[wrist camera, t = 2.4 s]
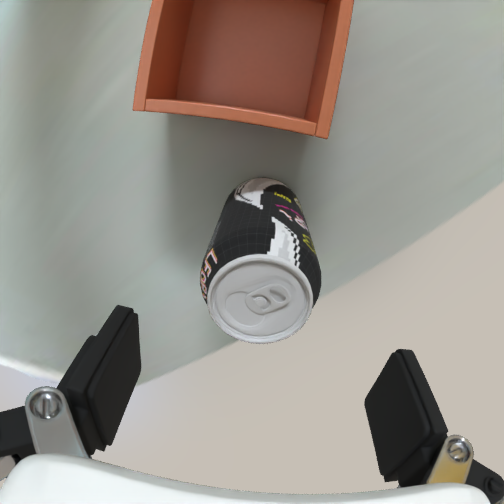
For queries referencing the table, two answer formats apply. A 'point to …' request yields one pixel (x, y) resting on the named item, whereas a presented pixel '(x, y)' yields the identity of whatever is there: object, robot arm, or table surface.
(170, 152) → the table surface
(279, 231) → the beverage can
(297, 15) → the bin
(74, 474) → the robot arm
